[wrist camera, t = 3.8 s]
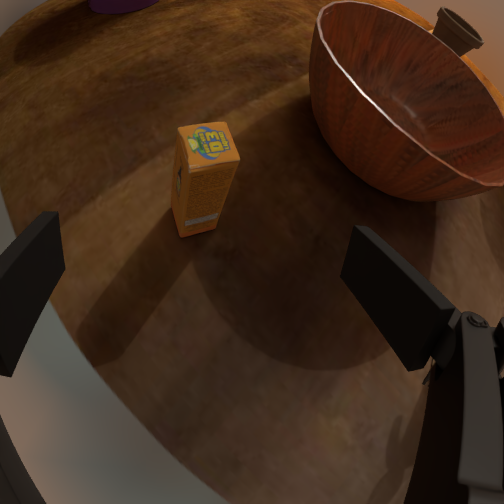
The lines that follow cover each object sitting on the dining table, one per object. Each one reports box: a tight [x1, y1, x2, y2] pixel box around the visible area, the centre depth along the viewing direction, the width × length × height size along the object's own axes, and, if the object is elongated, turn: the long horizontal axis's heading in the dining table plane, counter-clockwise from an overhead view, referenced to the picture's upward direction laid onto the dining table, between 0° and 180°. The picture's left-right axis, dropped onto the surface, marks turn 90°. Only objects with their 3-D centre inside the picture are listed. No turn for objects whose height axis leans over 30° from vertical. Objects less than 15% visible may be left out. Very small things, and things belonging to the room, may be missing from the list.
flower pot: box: [432, 7, 484, 57], centre depth 46 cm, size 12×11×10 cm
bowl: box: [309, 1, 504, 202], centre depth 29 cm, size 25×25×11 cm
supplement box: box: [171, 122, 240, 238], centre depth 22 cm, size 3×3×10 cm
